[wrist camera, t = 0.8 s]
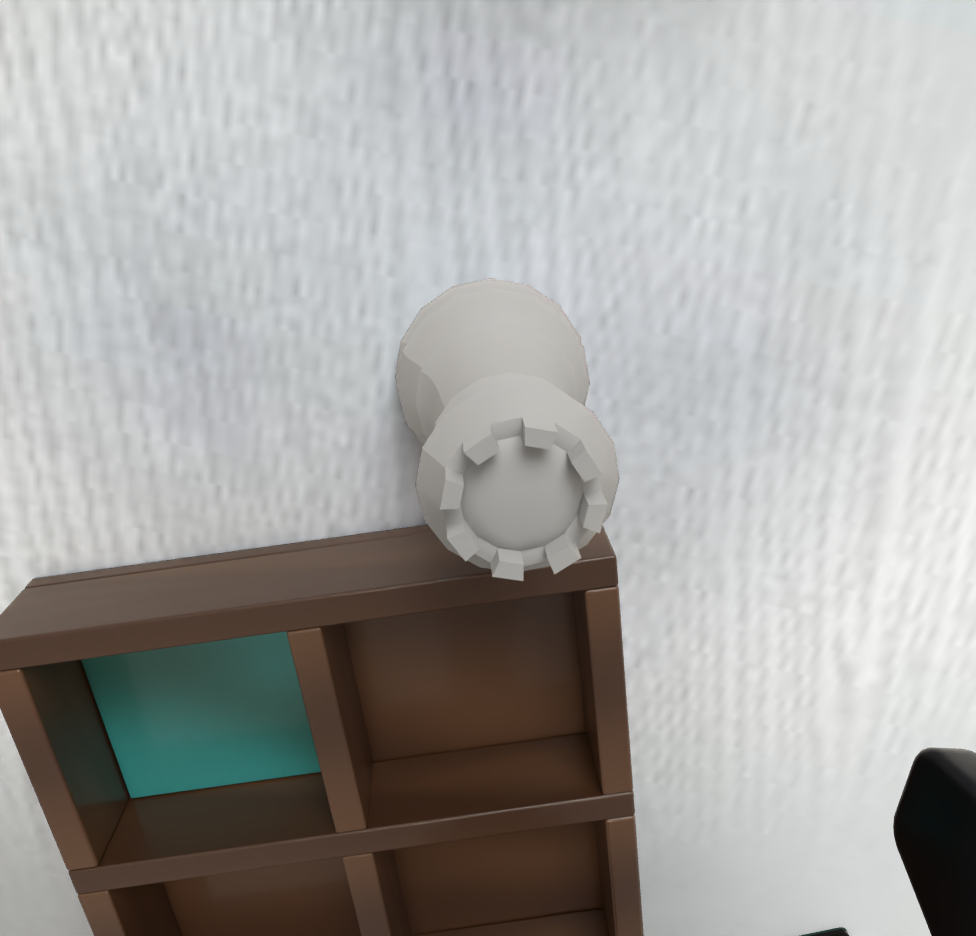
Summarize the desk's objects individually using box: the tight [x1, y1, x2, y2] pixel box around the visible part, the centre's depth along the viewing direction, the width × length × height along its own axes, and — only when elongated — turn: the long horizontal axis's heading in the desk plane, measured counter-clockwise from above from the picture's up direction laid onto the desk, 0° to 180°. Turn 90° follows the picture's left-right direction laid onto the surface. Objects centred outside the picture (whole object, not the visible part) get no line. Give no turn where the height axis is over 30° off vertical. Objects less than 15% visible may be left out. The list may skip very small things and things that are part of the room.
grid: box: [0, 525, 644, 936], centre depth 23 cm, size 14×14×3 cm
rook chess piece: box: [395, 278, 619, 581], centre depth 16 cm, size 4×4×8 cm
